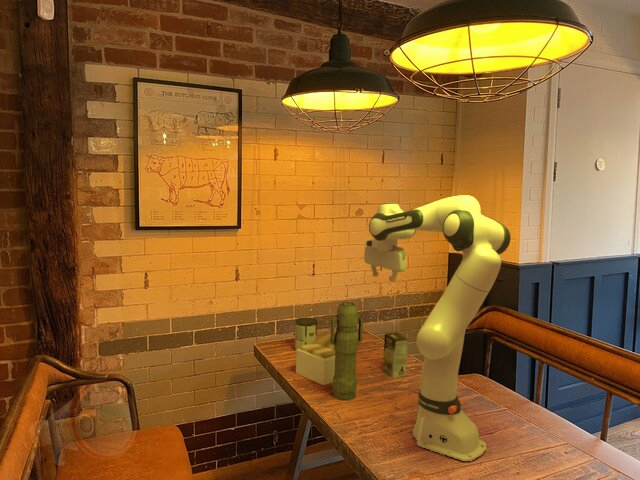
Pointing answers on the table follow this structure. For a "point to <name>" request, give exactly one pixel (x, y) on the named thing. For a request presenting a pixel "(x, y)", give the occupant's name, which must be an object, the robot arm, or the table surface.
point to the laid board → (318, 350)
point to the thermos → (346, 350)
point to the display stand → (315, 367)
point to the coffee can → (305, 331)
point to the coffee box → (395, 354)
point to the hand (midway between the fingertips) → (383, 278)
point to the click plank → (325, 340)
